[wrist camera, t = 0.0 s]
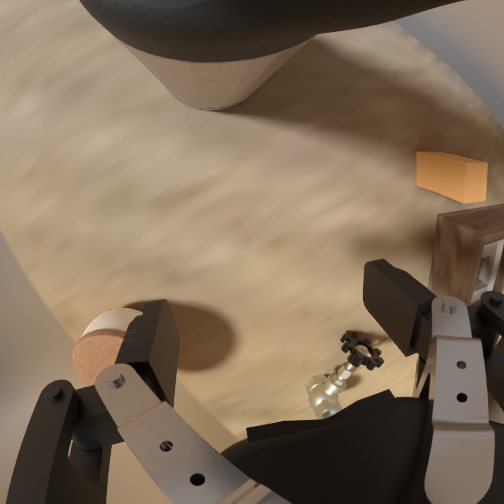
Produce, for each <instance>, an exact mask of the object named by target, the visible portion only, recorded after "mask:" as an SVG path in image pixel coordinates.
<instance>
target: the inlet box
mask: <svg viewBox="0 0 504 504" xmlns="http://www.w3.org/2000/svg"><path fill="white" fill-rule="evenodd" d="M503 287H504V204H500V205H494V206H488V207H481V208H475V209H469V210H462V211H456V212H450V213H443V214H438V216H437V227H436V237H435V245H434V252H433V259H432V266H431V272H430V277H429V283H428V288H427V289H429V290H430V291H431V292H432V293H434V294H435V295H436V296H437V297H439V296H453V297H456V298H458V299H460V300H462V301H463V302H464V303H465V305H466V306H471V305H479V301H480V297H481V295H482V293H484V292H486V291H496V292H499V293H502V290H503Z"/></svg>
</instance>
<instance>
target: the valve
mask: <svg viewBox="0 0 504 504" xmlns="http://www.w3.org/2000/svg"><path fill="white" fill-rule="evenodd" d="M340 340H341V342H342V343H344V341H347V342H345V343H344V345H343V346H342V347H341V349H342V351H343V352H345V353H347V352H348V351H349V350H350V356H349V357H348V362H349V363H348V364H344V365H342V367H341V368H340V369H339V370H338V373H339V374H330V375H329V376H328V378H327V376H326V375H325V374H320V375H316V376H312V377H311V378H310V379H309V380H308V382H307V383H306V384H305V387H306V390H307V392H308V393H309V403H310V405H311V407H312V408H313V409H314V411H315V414H316V417H317V418H318V419H325V418H328V417H330V416H332V415H333V414H335V413H337V412H339V411H341V410H342V407H341V404H340V402H339V401H338V393H341V392H342V391H343V390H344V389H345V388H346V379H348V378H349V377H350V376H351V375H352V374H353V372H354V369H353V368H354V367H359V366H360V365H361V364H362V365H365V366H366V368H367V369H369V370H373V369H374V368H375V366H376V367H378V368H379V367H380V366H381V365H382V364H383V363H384V360H383V359H382V358H381V357H379V356H380V354H381V351H380V350H379V349H378V348H375V349H374V348H373V347H372V346H371V341H370V340H369V339H365V340H362V339H360V338H359V335H358V334H357V333H352V334H351V336H350V335H349V334H346V333H345V334H344V335H343V336H342V338H341V339H340ZM357 344H359V346H357V348H355V347H356V345H357ZM368 351H369V352H368ZM368 353H370V354H371V356H372V357H368V356H367V354H368Z"/></svg>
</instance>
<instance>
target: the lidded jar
mask: <svg viewBox="0 0 504 504" xmlns="http://www.w3.org/2000/svg"><path fill="white" fill-rule="evenodd" d="M142 314H143V312H141V311H139V310H135V309H130V308H117V309H112V310H109V311H106V312H104V313H102V314H101V315H99V316H98V317H97V318H95V319H94V320H93V321H92V322H91V323H90V324H89V326H88V327H87V328H86V330H85V331H84V333H83V335H82V336H81V338H80V339H79V341H78V342H77V344H76V346H75V348H74V350H73V354H72V361H73V366H74V369H75V371H76V373H77V375H78V377H79V378H80V380H81V381H82V382H83V383H84V384H85V386H86V387H88V386H92V385H95V380H96V378H97V376H98V374H99V373H100V372H101V371H102V370H104V369H105V368H107V367H109V366H111V365H114V363H115V361H116V358H117V355H118V352H119V349H120V347H121V344H122V342H123V338H124V336H125V334H126V331H127V328H128V325H129V323H130V322H131V321H132V320H133V319H134V318H135V317H136V316H139V315H142Z"/></svg>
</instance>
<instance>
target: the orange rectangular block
mask: <svg viewBox="0 0 504 504" xmlns="http://www.w3.org/2000/svg"><path fill="white" fill-rule="evenodd" d="M416 161H417V186H420V187H422V188H425V189H428V190H431V191H433V192H436V193H439V194H441V195H444V196H446V197H449V198H451V199H454V200H456V201H459V202H461V203H464V204H465V203H473V202H480V201H486V189H487V170H488V163H486V162H482V161H479V160H475V159H470V158H466V157H462V156H457V155H453V154H448V153H443V152H420V151H417V152H416Z"/></svg>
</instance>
